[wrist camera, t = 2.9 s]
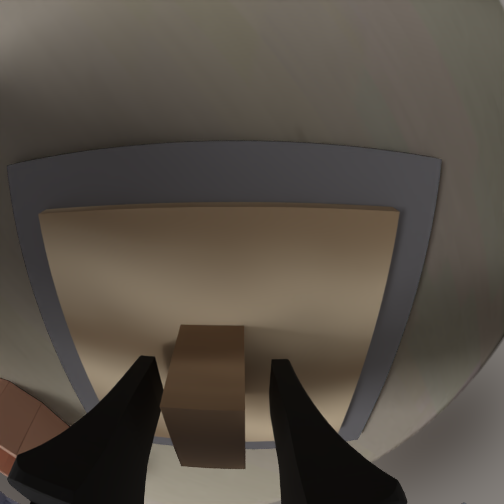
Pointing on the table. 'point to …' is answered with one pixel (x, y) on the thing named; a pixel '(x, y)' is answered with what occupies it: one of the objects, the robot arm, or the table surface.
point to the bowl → (23, 424)
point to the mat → (236, 190)
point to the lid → (222, 306)
